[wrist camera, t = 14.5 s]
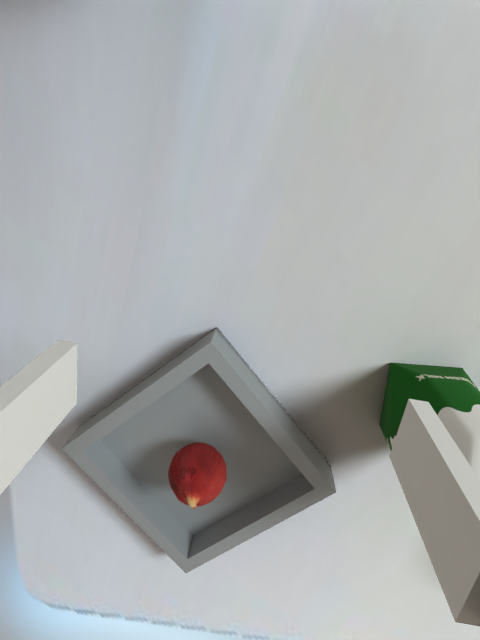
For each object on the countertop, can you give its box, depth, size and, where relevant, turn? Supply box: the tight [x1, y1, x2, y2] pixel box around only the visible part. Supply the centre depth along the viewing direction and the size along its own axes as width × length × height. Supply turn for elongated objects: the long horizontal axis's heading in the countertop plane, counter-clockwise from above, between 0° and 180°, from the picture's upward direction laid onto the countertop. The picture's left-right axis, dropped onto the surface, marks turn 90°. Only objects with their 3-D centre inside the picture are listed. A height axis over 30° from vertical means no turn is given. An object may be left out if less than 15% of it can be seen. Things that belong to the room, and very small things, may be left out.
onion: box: [168, 442, 227, 509], centre depth 41 cm, size 6×6×8 cm
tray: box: [62, 328, 336, 573], centre depth 44 cm, size 20×20×4 cm
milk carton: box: [380, 363, 480, 480], centre depth 33 cm, size 9×9×20 cm
